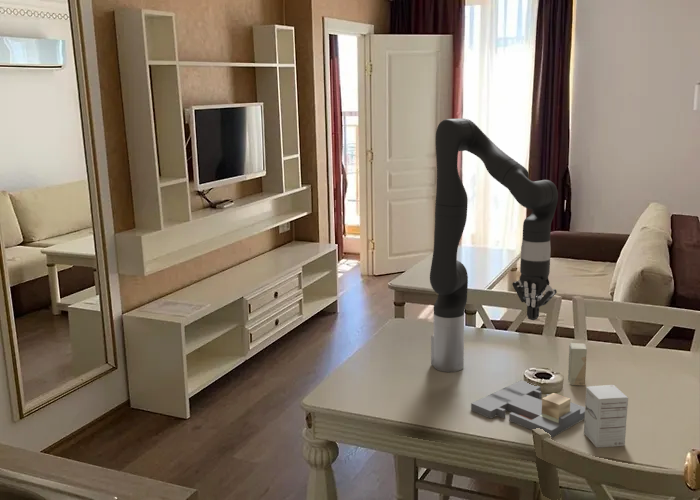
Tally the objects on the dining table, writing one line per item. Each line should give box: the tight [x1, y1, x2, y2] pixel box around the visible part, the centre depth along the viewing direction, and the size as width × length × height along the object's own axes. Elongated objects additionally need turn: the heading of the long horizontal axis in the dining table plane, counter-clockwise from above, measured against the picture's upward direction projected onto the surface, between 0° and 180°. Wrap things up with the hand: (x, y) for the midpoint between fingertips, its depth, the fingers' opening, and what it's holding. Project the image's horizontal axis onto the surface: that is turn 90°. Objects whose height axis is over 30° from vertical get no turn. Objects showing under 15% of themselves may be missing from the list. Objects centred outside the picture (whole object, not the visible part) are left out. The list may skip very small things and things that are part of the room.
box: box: [567, 342, 588, 386], centre depth 199 cm, size 5×4×11 cm
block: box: [541, 392, 571, 419], centre depth 176 cm, size 5×5×4 cm
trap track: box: [470, 379, 585, 438], centre depth 182 cm, size 23×22×4 cm
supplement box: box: [583, 384, 629, 448], centre depth 166 cm, size 7×7×13 cm
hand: (532, 319), depth 186 cm, fingers closed
